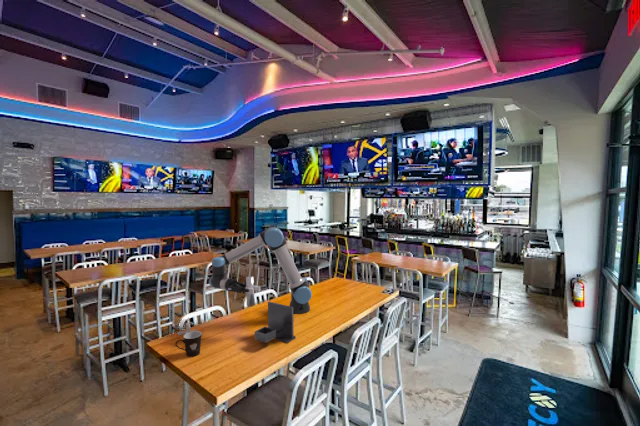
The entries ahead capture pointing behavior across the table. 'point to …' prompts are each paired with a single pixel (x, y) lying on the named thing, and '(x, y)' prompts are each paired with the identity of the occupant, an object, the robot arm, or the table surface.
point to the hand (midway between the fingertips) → (256, 290)
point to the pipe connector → (186, 330)
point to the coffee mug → (192, 343)
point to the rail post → (250, 285)
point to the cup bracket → (277, 324)
